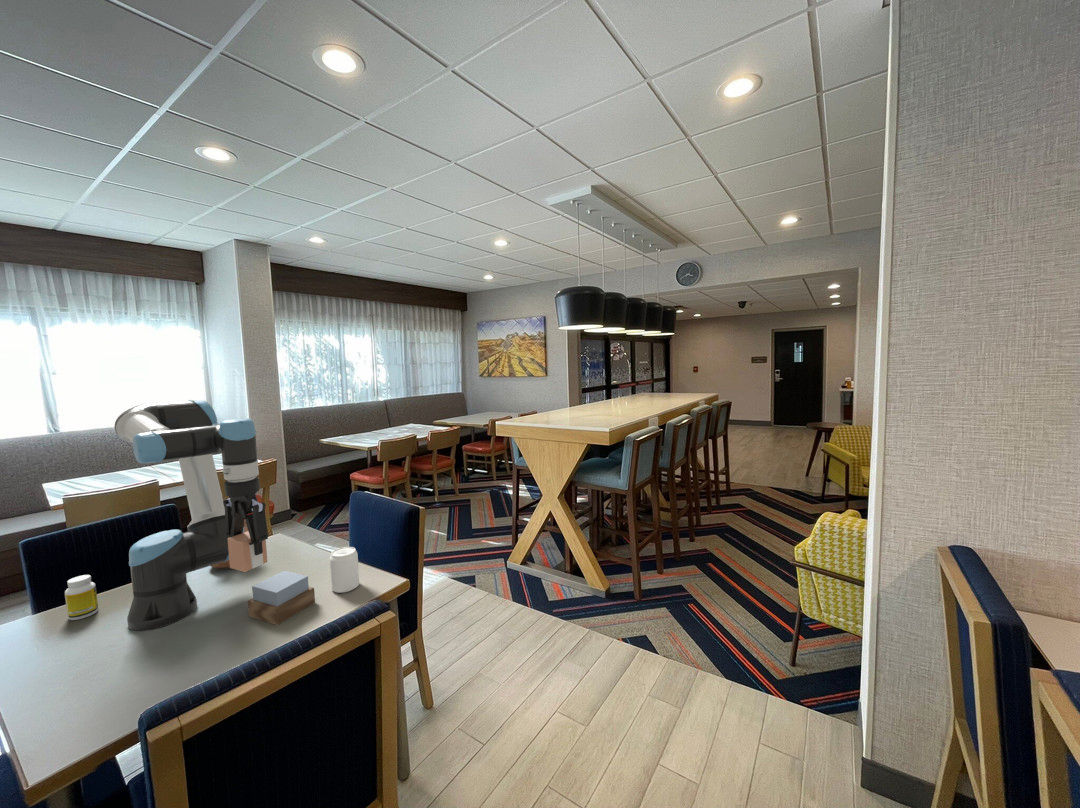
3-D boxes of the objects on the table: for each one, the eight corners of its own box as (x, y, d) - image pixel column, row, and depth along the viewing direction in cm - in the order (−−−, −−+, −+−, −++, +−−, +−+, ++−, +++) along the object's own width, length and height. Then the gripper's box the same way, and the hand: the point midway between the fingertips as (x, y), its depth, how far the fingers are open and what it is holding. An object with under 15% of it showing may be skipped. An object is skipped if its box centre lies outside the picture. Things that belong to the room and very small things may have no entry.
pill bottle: (102, 611, 128) (98, 575, 127) (73, 623, 123) (69, 585, 122) (92, 607, 131) (88, 571, 130) (63, 618, 125) (59, 581, 124)
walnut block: (248, 617, 125) (247, 600, 124) (286, 596, 136) (285, 581, 135) (278, 626, 120) (276, 608, 120) (315, 603, 131) (314, 587, 131)
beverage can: (349, 595, 135) (346, 557, 134) (326, 593, 136) (323, 556, 135) (364, 582, 143) (362, 546, 141) (342, 580, 144) (340, 545, 143)
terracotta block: (230, 567, 114) (227, 538, 114) (253, 558, 120) (250, 530, 119) (244, 572, 112) (242, 541, 111) (267, 562, 117) (265, 533, 117)
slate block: (253, 599, 125) (251, 586, 124) (285, 583, 134) (284, 570, 133) (277, 606, 121) (276, 592, 120) (308, 589, 130) (307, 576, 130)
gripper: (203, 478, 114) (211, 563, 116) (251, 485, 106) (258, 576, 109) (233, 471, 121) (240, 552, 123) (280, 478, 113) (286, 563, 115)
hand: (249, 563), depth 116 cm, fingers closed on terracotta block, 6 cm apart
